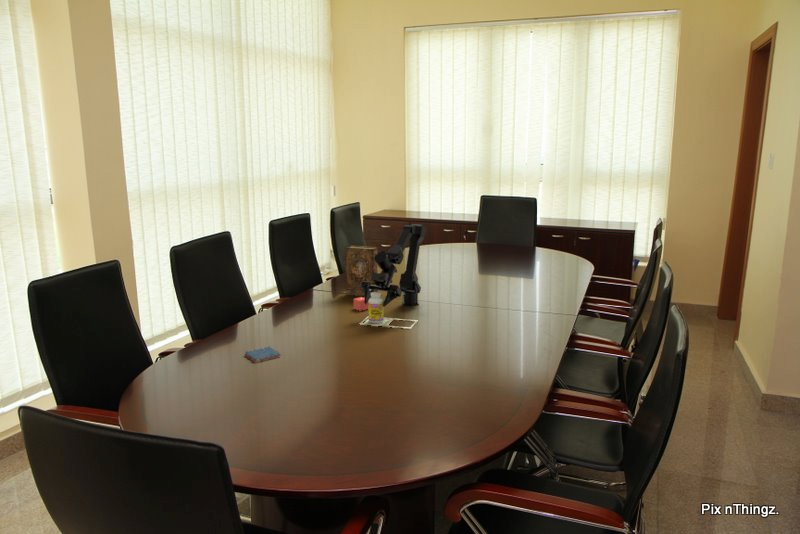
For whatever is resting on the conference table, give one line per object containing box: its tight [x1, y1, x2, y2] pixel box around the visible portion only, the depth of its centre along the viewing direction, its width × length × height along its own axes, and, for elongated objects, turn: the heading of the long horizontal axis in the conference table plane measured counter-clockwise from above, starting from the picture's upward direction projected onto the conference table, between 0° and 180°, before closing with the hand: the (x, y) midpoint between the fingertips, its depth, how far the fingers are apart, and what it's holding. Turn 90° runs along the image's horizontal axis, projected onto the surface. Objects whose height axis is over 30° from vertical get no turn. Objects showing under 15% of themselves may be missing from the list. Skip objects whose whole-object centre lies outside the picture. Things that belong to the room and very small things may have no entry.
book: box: [344, 245, 379, 297], centre depth 311 cm, size 16×6×25 cm, turn 68°
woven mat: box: [244, 346, 281, 364], centre depth 227 cm, size 10×11×2 cm
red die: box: [353, 296, 369, 312], centre depth 287 cm, size 5×5×6 cm
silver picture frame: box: [358, 315, 419, 330], centre depth 266 cm, size 23×12×1 cm, turn 73°
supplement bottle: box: [368, 291, 385, 323], centre depth 267 cm, size 7×7×13 cm
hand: (374, 305), depth 265 cm, fingers open, 9 cm apart
